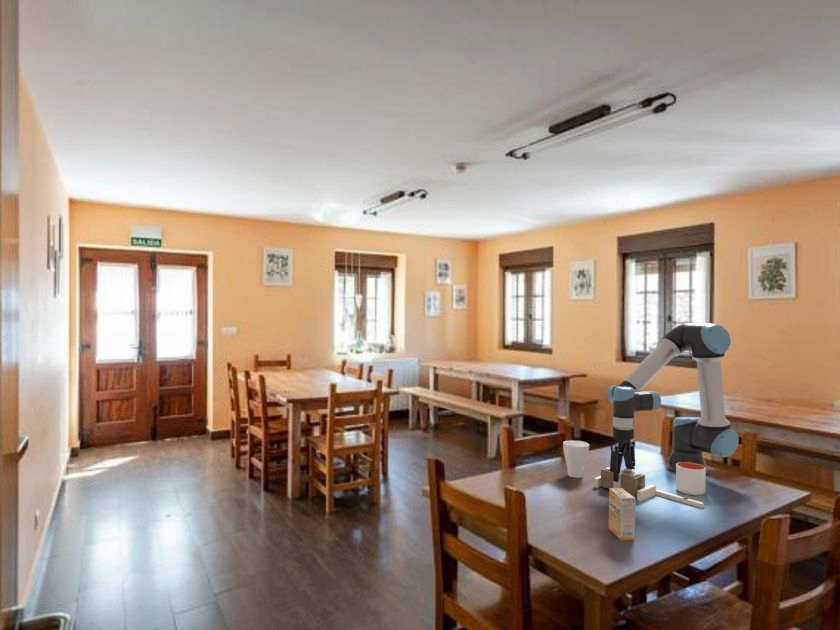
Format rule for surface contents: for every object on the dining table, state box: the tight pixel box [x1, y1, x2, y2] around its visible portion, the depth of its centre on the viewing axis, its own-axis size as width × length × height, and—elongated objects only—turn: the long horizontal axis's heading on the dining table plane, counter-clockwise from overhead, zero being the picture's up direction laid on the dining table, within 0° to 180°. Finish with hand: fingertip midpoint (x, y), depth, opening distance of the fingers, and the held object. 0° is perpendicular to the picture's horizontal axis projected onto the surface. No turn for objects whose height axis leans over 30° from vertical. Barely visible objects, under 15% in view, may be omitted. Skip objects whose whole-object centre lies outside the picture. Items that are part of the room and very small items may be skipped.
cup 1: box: [562, 440, 590, 479], centre depth 214 cm, size 10×10×14 cm
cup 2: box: [675, 462, 707, 496], centre depth 197 cm, size 10×10×10 cm
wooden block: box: [600, 465, 646, 497], centre depth 196 cm, size 7×14×7 cm, turn 39°
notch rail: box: [593, 475, 705, 509], centre depth 191 cm, size 12×36×4 cm, turn 39°
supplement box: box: [608, 488, 636, 541], centre depth 158 cm, size 8×5×13 cm, turn 5°
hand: (622, 487), depth 196 cm, fingers closed on wooden block, 7 cm apart
